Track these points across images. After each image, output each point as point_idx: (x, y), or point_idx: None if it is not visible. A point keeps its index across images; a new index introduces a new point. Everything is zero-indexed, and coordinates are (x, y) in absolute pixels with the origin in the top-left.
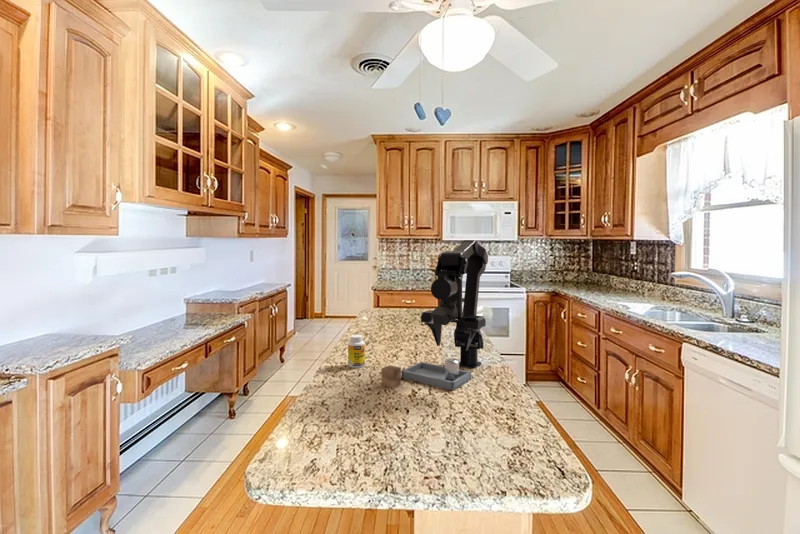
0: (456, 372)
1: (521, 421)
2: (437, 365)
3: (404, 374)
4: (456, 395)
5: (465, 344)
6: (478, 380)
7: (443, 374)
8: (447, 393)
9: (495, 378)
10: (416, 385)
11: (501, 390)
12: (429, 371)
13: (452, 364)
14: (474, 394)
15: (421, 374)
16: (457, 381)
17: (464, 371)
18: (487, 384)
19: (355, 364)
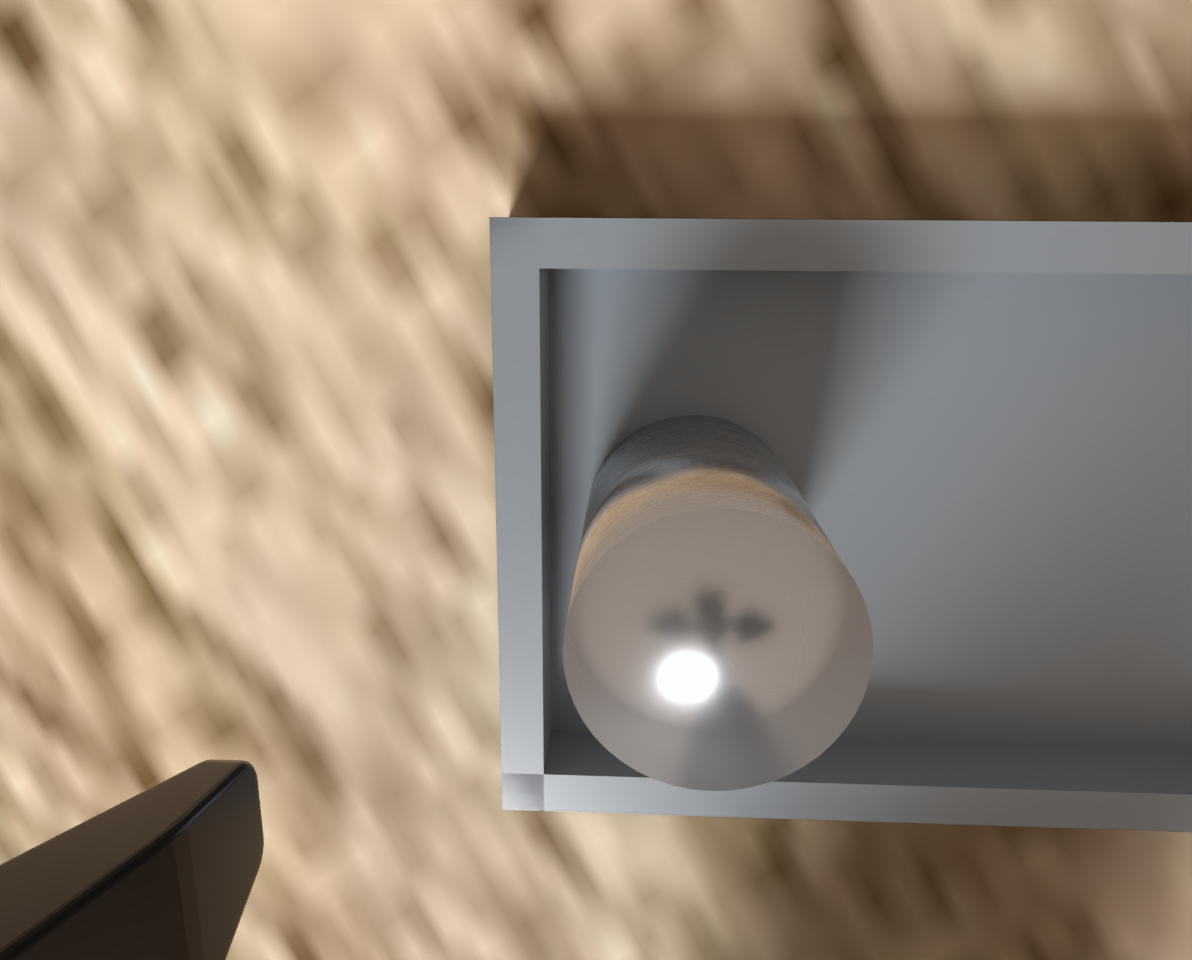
0: (586, 526)
1: None
2: (1119, 814)
3: None
4: (379, 72)
5: (72, 867)
6: (421, 767)
7: (918, 663)
8: (528, 61)
9: (284, 935)
10: (1120, 63)
11: (11, 606)
12: (1176, 662)
13: (637, 514)
14: (200, 269)
15: (1186, 261)
16: (494, 355)
17: (606, 790)
18: (255, 700)
19: None
